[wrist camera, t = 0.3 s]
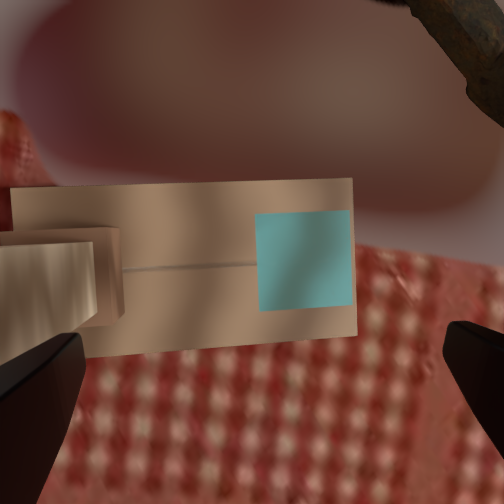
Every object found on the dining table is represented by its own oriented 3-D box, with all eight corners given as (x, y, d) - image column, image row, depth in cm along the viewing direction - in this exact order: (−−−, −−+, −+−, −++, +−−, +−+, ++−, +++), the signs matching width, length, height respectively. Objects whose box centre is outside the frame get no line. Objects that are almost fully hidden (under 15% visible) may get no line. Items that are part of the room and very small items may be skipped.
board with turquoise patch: (32, 357, 23) (24, 363, 22) (18, 190, 22) (10, 188, 21) (351, 331, 25) (357, 335, 24) (346, 180, 25) (352, 177, 24)
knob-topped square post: (124, 313, 22) (-31, 466, 8) (35, 319, 22) (-325, 499, 7) (119, 227, 22) (-53, 215, 7) (28, 232, 21) (-361, 227, 7)
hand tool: (325, -64, 24) (353, -135, 19) (371, -102, 24) (411, -181, 20) (494, 169, 26) (556, 156, 22) (535, 133, 26) (605, 112, 22)
